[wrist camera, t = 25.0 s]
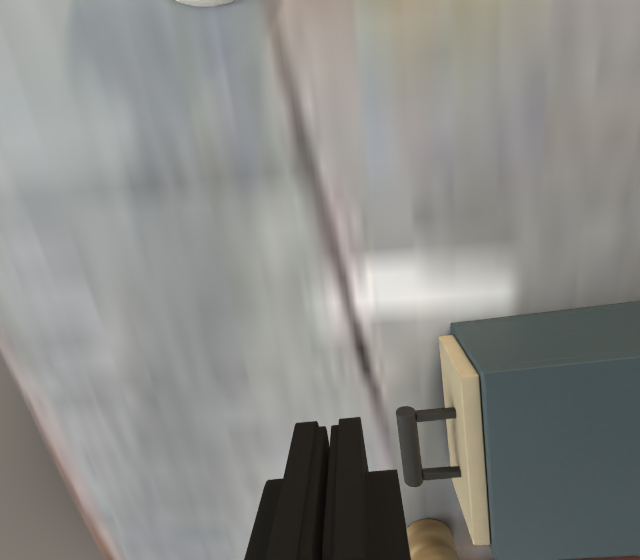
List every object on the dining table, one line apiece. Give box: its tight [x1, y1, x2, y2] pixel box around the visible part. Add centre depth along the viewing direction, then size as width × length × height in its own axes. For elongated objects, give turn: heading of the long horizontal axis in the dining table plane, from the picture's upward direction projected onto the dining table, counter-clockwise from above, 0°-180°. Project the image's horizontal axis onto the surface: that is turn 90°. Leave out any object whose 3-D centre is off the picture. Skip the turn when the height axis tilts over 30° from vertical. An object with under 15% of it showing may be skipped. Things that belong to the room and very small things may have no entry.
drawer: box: [396, 335, 491, 546], centre depth 31 cm, size 18×13×7 cm
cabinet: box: [451, 301, 640, 560], centre depth 30 cm, size 15×15×9 cm
